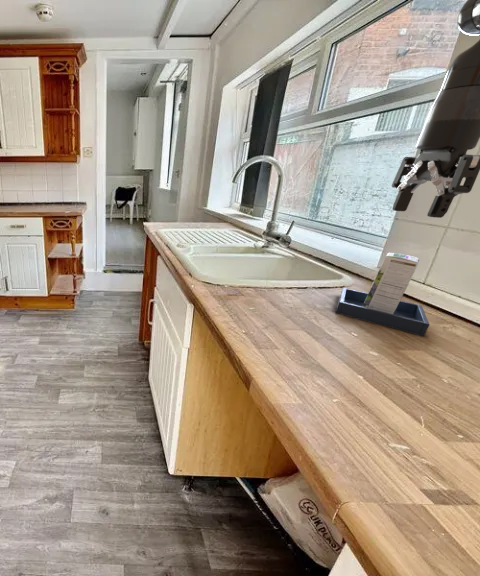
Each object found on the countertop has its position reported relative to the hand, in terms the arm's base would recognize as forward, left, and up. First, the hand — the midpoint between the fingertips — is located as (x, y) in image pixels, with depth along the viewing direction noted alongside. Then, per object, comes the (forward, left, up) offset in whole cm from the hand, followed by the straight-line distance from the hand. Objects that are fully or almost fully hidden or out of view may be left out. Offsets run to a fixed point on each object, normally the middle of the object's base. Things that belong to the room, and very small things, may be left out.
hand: (415, 213), depth 60 cm
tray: (-2, -10, -25) cm, 27 cm away
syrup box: (-2, -10, -25) cm, 27 cm away
